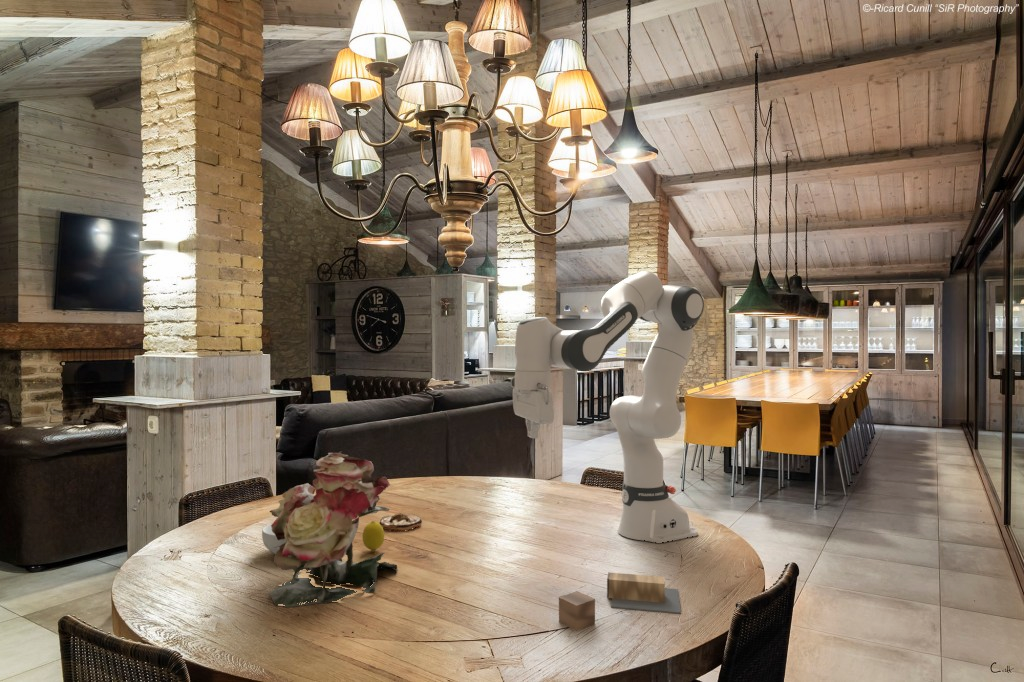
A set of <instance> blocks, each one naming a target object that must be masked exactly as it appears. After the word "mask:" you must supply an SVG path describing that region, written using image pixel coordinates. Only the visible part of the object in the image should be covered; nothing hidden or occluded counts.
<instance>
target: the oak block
mask: <svg viewBox="0 0 1024 682" xmlns="http://www.w3.org/2000/svg"><path fill="white" fill-rule="evenodd" d="M665 583H666V582H665V576H658V575H646V574H645V575H644V574H632V573H621V572H607V577H606V598H607V599H612V598H615V599H626V600H638V601H649V602H660V603H665V588H666V587H665Z"/></svg>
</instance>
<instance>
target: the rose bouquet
mask: <svg viewBox="0 0 1024 682" xmlns="http://www.w3.org/2000/svg"><path fill="white" fill-rule="evenodd" d="M372 462H373V461H370V460H367V459H360V458H358V457H355V456H354V457H353V456H349V455H348V454H344V453H342V452H328V455H326V456H324V457H323V456H322V457H321V458H319V459H318V460H316V461H315V464H316V466H317V467H319V468H317V469H313V474H314V476H316V478H315V479H314V480H312V485H311V484H309V483H308V482H307V483H304V484H300V485H299V484H298V485H296V486H294V487H290V488H289V489H288V490H287V491H284V492H283V493H282V495H281V496H282V499H281V500H280V499H279V500H278V501H277V502H278V503H279V507H278V508H274V509H271V510H269V513H271V515H272V516H273V517H275V520H274V521H273V522H272V523H273V524H272V523H271V524H272V525H271V527H272V532H273V533H274V534H275V535H276V537H277V540H283V539H286V543H284V544H283V545H281V546H277V547H280V549H279V550H278V551H277V552H276V553H274V554H275V555H274V557H273V559H274V561H273V562H274V565H276V566H277V567H278V568H279V569H281V570H284V571H289V570H291V571H293V573H294V575H293V574H292V578H291V579H290V580H288V581H285V582H286V583H285V582H282V583H283V584H282V586H278V585H277V586H276V587H275V588H274V589H273V590H272V591H270V592H269V595H270V597H271V599H272V602H273V603H274V606H275V605H278V604H283V605H285V606H284V608H285V607H287V608H290V607H291V608H292V607H301V606H303V607H304V606H308V605H314V604H315V605H316V604H328V603H327V602H332V601H337V600H339V599H341V598H343V597H345V596H347V595H351V594H353V593H356V592H357V591H356V592H355V591H354V590H350V589H345V588H342V587H336V588H331V589H329V588H325V586H326V584H327V583H326V582H331V583H330V585H331V584H336V585H340V584H346V583H350V584H353V585H352V586H355V585H362V587H363V588H366V589H365V590H362V591H364V592H366V593H374V594H375V591H376V587H377V583H378V570H381V569H382V570H384V569H387V570H395V572H396V573H397V571H398V565H397V564H395V563H390V562H387V561H383V562H379V561H381V560H382V557H383V555H384V554H385V552H381V553H380V554H378V555H376V556H372V557H370V558H366V559H363V560H361V561H358V562H354V561H353V557H354V550H353V547H354V545H353V541H354V539H355V537H356V534H357V532H358V530H359V523H360V518H361V517H365V516H367V515H371V514H376V513H379V512H381V511H385V512H388V511H390V507H386V506H380V505H379V506H378V505H377V503H378V502H379V501H380V496H379V495H381V494H382V493H383V492H384V491H386V489H388V488H389V487H390V486H391V483H390V482H389V480H388V478H387V477H386V476H379V477H374V478H372V474H373V472H374V471H375V468H374V467H375V466H374V464H373V463H372ZM402 512H403V510H402ZM402 512H401V513H402ZM275 548H276V547H275ZM288 555H291V556H292V557H288ZM345 555H346V556H347V560H346V561H343V558H344V557H345ZM303 569H306V570H307V571H308V570H311V571H310V572H306V573H310V574H313V575H315V576H318V577H320V578H319V581H323V583H322V586H323V588H322V587H315V586H313V585H312V584H311V583H310V581H311V579H309V578H298V575H299V574H297V573H300V572H299V571H300V570H303ZM313 575H312V576H313ZM315 576H314V577H315ZM290 582H291V583H290ZM373 582H375V583H374V584H373ZM284 583H285V585H284ZM372 584H373V585H372ZM371 585H372V586H371ZM370 586H371V587H370ZM314 599H317V602H315V601H316V600H315V601H314V602H313V600H314ZM306 601H307V602H306ZM311 601H312V602H311ZM300 602H301V603H302V602H303V603H304V602H306V603H305V604H302V605H301V603H300ZM308 602H309V603H308ZM297 603H298V604H297ZM299 603H300V605H299Z"/></svg>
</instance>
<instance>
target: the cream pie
mask: <svg viewBox="0 0 1024 682" xmlns="http://www.w3.org/2000/svg"><path fill="white" fill-rule="evenodd" d="M422 523H423V520H422V519H421V518H420V516H418V515H416V514H415V513H402V512H398V513H396V514H391V515H390V514H388V515H386V516H384V515H383V516H382V517H381V518H380V521H379V524H380V525H381V526H382V527H383V528H384V529H387V530H386V531H388V530H391V531H390V532H398V531H399V532H400V531H401V532H406V531H405V530H409V529H412V528H415V527H418V526H419V527H421V525H422ZM419 527H418V528H419ZM384 529H383V530H384ZM412 530H413V529H412ZM409 531H410V530H409Z"/></svg>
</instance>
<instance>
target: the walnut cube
mask: <svg viewBox="0 0 1024 682" xmlns="http://www.w3.org/2000/svg"><path fill="white" fill-rule="evenodd" d="M558 623H560V624H561V625H563V626H565V627H567V628H569V629H571V630H573V631H574V632H579V631H582V630H584V629H586V628H588V627H592V626H593V625H595V624H596V598H593V597H592V596H589V595H587V594H585V593H583V592H581V591H578V590H577V591H573V592H569V593H568V594H564V595H562V596H558Z"/></svg>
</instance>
